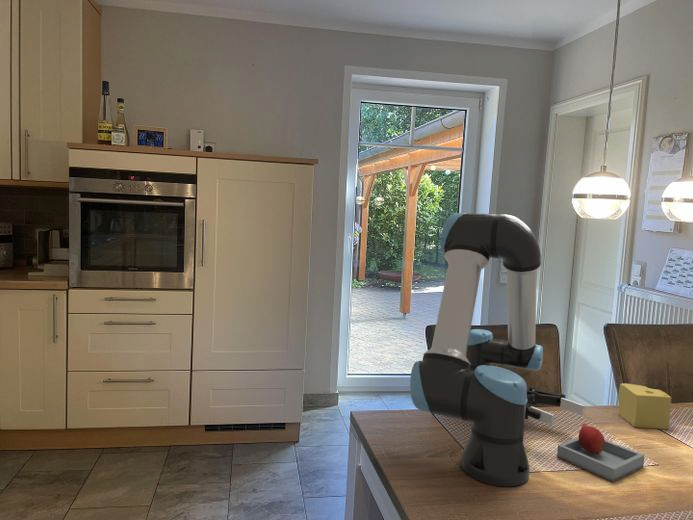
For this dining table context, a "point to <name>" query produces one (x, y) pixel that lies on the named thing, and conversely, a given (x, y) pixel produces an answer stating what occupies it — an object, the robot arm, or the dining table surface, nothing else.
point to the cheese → (644, 406)
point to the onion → (591, 439)
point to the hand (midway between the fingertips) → (568, 415)
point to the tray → (602, 459)
